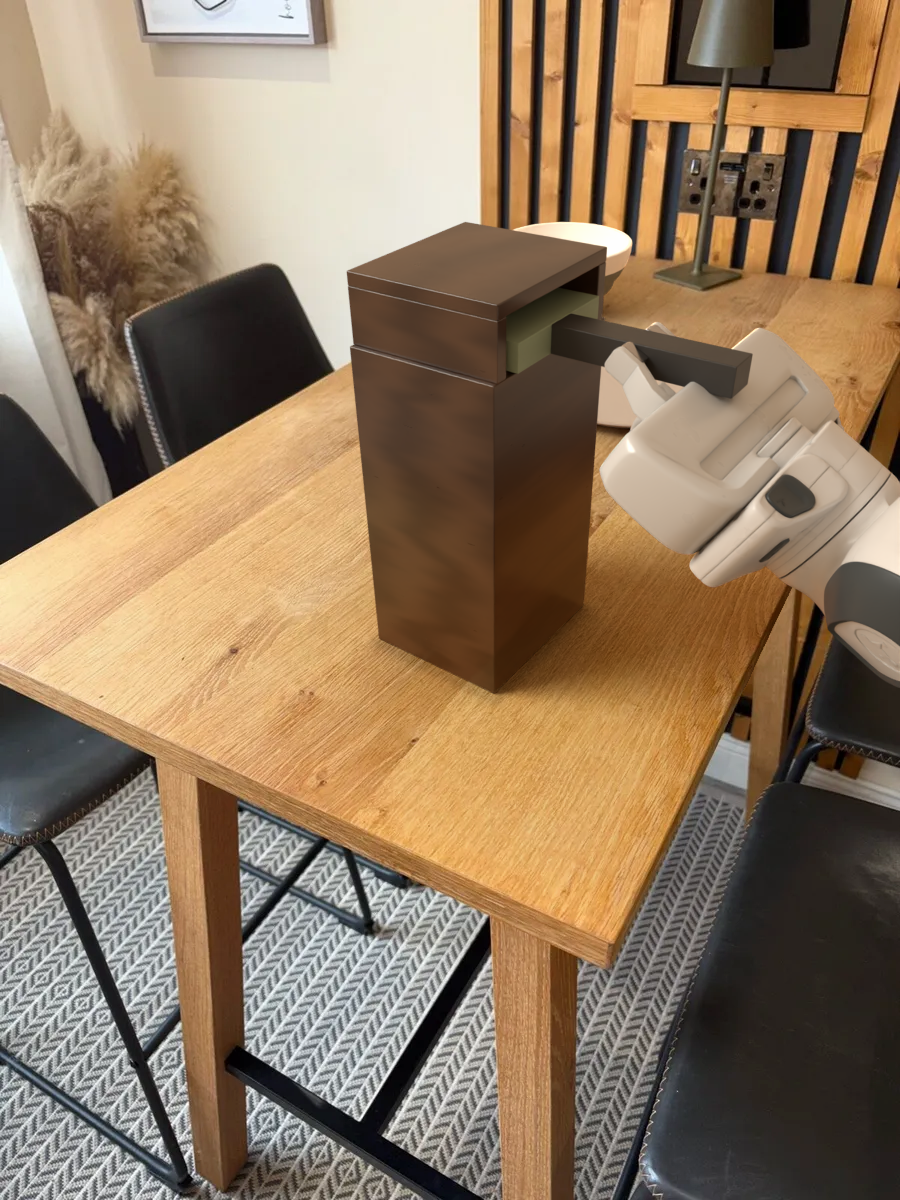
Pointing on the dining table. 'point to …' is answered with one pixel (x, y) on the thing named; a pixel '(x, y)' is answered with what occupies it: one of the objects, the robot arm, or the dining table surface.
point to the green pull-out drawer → (616, 344)
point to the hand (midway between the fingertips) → (629, 342)
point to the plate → (617, 402)
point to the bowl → (591, 242)
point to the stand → (473, 447)
